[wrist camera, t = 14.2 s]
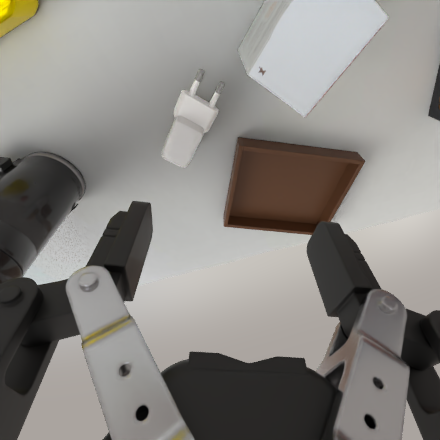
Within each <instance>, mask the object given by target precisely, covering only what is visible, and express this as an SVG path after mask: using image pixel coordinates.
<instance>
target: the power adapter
mask: <svg viewBox="0 0 440 440" xmlns="http://www.w3.org/2000/svg"><path fill="white" fill-rule="evenodd" d="M203 75H204V70H203V69H199V70H198V72H197V75H196V77H195V80H194V83H193V85H192V87H191V89H190V91H188V90H182V92H181V94H180V96H179V99H178V101H177V104H176V106H175V109H174V112H173V114H174V117H175V120H174V122H173V124H172V127H171V129H170V132H169V134H168V136H167V139H166V141H165V144H164V147H163V149H162V154H161V155H162V157H163V158H164V159H165V160H167V161H169V162H171V163H173V164H175V165H178V166H180V167H183V168H184V167H187V166H188V165H189V163H190V161H191V159H192V158H193V156H194V154H195V152H196V150H197V148H198V146H199V144H200V142H201V140H202V138H203V134H204V133H206V132H208V131H209V130H210V128H211V126H212V124H213V122H214V120H215V118H216V116H217V114H218V112H219V110H218V109H217V108H216V107H215V104H216V101H217V99H218V97H219V95H220V94H221V92H222V90H223V88H224V83H223V82H219V84H218V86H217V88H216V90H215V93H214V95H213V97H212V99H211V100H210V102H207V101H205V100H204V99H202V98H200V97H199V96H197V95H195V93H196V90H197V88H198V86H199V84H200V82H201V80H202V77H203Z"/></svg>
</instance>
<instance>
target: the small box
mask: <svg viewBox="0 0 440 440" xmlns="http://www.w3.org/2000/svg"><path fill="white" fill-rule="evenodd" d="M388 19H389V17H388V15H387V14H386V13H385V11H384V10H383V9H382V8H381V7H380V5H379V4H378V3H377V2H376V0H265V2H264V3H263V5H262V7H261V9H260V10H259V12H258V14H257V16H256V18H255V19H254V21H253V23H252V25H251V27H250V28H249V30H248V32H247V34H246V35H245V37H244V39H243V41H242V43H241V45H240V47H239V48H238V53H239V56H240V58H241V61H242V63H243V66H244V68H245V71H246V73H247V76H249V77H250V78H252V79H253V80H254V81H256V82H257V83H259V84H260V85H261V86H263V87H264V88H266V89H267V90H268V91H270V92H271V93H272V94H274V95H275V96H276V97H278V98H279V99H280V100H282V101H283V102H284V103H286V104H287V105H288V106H290V107H291V108H292V109H294V110H295V111H296V112H298V113H299V114H300V115H302V116H303V117H304V118H305V117H306V116H307V115H308V114H309V113H310V112H311V110H312V109H313V108H314V107H315V106H316V104H317V103H318V102H319V101H320V100H321V98H322V97H323V96H324V95H325V94H326V93H327V91H328V90H329V89H330V88H331V87H332V85H333V84H334V83H335V82H336V81H337V79H338V78H339V77H340V76H341V75H342V74H343V72H344V71H345V70H346V69H347V68H348V66H349V65H350V64H351V63H352V62H353V61H354V59H355V58H356V57H357V56H358V55H359V53H360V52H361V51H362V50H363V49H364V48H365V46H366V45H367V44H368V43H369V42H370V40H371V39H372V38H373V37H374V36H375V34H376V33H377V32H378V31H379V30H380V29H381V27H382V26H383V25H384V24H385V23H386V21H387V20H388Z"/></svg>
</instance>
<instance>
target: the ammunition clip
mask: <svg viewBox="0 0 440 440" xmlns="http://www.w3.org/2000/svg"><path fill="white" fill-rule="evenodd" d="M429 116H430V117H432V118H435V119H437V120H439V121H440V65H439V70H438V74H437V79H436V83H435V88H434V93H433V97H432V102H431V106H430V111H429Z"/></svg>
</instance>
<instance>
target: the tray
mask: <svg viewBox="0 0 440 440" xmlns="http://www.w3.org/2000/svg"><path fill="white" fill-rule="evenodd" d="M364 163H365V160H364V159H363V158H362V157H361V156H360V155H359V154H358V153H357V152H351V151H343V150H335V149H327V148H319V147H311V146H303V145H295V144H287V143H279V142H271V141H263V140H255V139H248V138H240V137H238V140H237V145H236V151H235V156H234V162H233V167H232V173H231V178H230V184H229V190H228V195H227V201H226V206H225V212H224V227H234V228H245V229H255V230H266V231H276V232H287V233H297V234H308V235H313V233H314V231H315V229H316V227H317V225H318V224H319V222H321V221H325V222H331V220H332V218H333V216H334V215H335V213H336V211H337V209H338V208H339V206H340V204H341V203H342V201H343V199H344V197H345V196H346V194H347V192H348V190H349V189H350V187H351V185H352V183H353V182H354V180H355V178H356V177H357V175H358V173H359V171H360V170H361V168H362V166H363V164H364Z"/></svg>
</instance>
